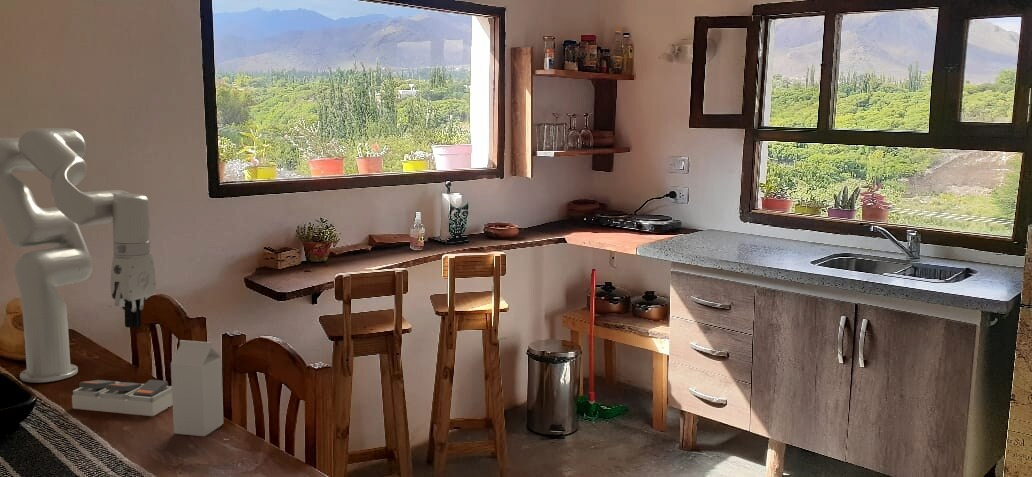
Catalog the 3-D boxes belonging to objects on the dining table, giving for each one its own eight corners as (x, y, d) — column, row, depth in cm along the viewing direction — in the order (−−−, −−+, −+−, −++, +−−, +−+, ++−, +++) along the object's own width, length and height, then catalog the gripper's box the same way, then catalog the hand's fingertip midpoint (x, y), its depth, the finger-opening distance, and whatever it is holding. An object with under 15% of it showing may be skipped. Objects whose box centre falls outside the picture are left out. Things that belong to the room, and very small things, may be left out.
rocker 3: (134, 397, 181) (133, 392, 180) (150, 383, 186) (149, 379, 186) (152, 398, 180) (151, 394, 179) (168, 384, 185) (167, 380, 185)
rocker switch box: (72, 408, 183) (71, 391, 182) (98, 396, 191) (97, 379, 190) (153, 416, 179) (152, 398, 178) (176, 403, 187) (175, 386, 186)
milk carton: (204, 437, 168) (201, 347, 165) (173, 434, 169) (169, 344, 166) (223, 424, 175) (220, 338, 172) (193, 421, 176) (189, 335, 173)
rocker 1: (79, 387, 183) (79, 381, 183) (97, 384, 189) (98, 379, 189) (96, 388, 182) (96, 383, 182) (114, 385, 188) (115, 380, 188)
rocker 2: (106, 389, 182) (106, 384, 182) (123, 386, 188) (124, 381, 188) (123, 391, 181) (124, 386, 181) (141, 388, 187) (141, 383, 187)
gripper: (123, 256, 178) (125, 337, 181) (167, 245, 193) (168, 320, 196) (93, 252, 180) (96, 333, 183) (139, 242, 194) (140, 317, 197)
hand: (133, 326), depth 189 cm, fingers closed
